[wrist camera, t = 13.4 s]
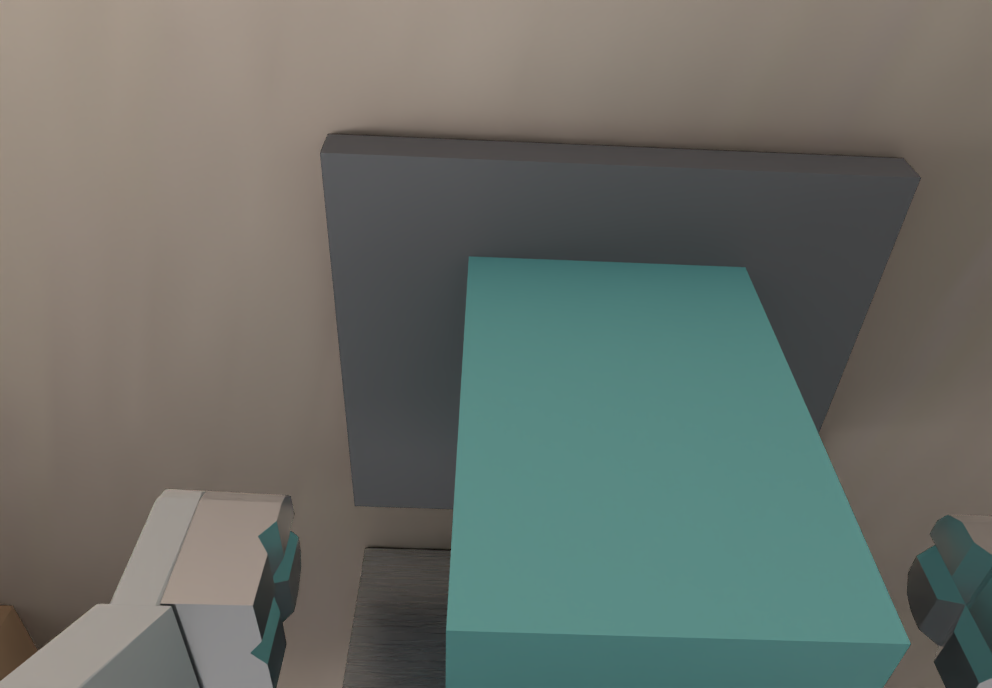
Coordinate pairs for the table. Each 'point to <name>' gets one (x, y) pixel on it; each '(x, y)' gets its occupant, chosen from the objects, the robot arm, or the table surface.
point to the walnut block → (13, 641)
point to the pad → (579, 237)
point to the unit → (400, 620)
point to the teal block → (647, 493)
